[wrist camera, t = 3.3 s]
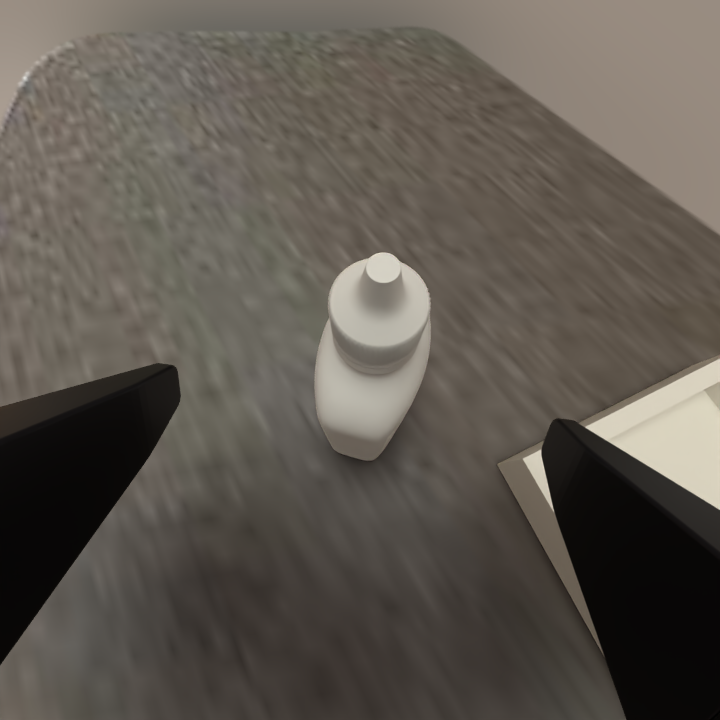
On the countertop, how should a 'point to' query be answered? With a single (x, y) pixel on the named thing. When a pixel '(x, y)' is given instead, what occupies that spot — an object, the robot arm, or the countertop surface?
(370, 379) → the eye dropper bottle
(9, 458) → the robot arm
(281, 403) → the countertop surface
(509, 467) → the tray
